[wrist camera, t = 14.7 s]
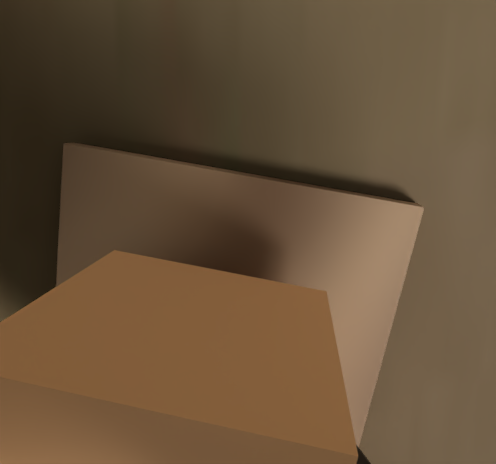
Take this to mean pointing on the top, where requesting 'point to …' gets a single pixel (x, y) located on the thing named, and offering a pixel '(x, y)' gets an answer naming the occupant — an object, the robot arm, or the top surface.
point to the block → (172, 370)
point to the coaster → (248, 239)
